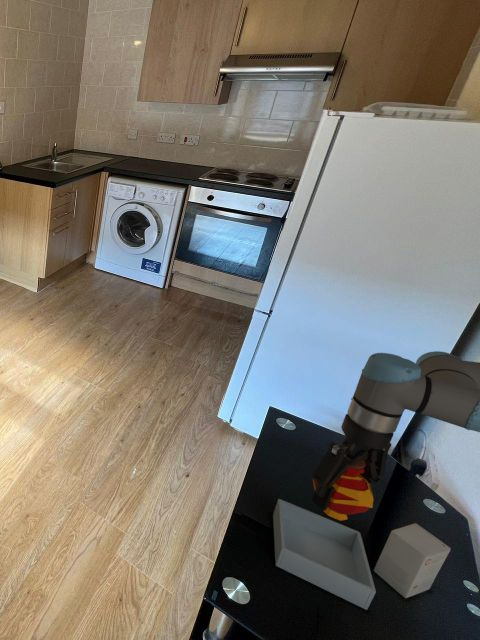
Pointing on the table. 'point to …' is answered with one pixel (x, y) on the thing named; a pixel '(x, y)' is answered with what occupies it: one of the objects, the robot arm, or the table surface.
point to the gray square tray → (322, 553)
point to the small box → (411, 560)
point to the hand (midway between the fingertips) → (337, 501)
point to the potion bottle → (350, 493)
